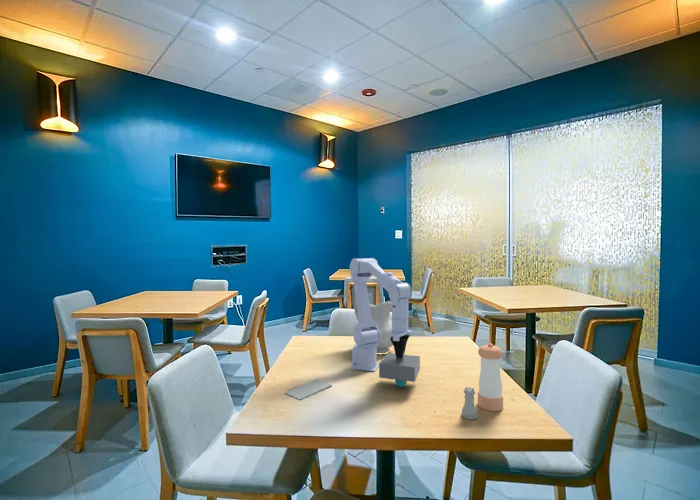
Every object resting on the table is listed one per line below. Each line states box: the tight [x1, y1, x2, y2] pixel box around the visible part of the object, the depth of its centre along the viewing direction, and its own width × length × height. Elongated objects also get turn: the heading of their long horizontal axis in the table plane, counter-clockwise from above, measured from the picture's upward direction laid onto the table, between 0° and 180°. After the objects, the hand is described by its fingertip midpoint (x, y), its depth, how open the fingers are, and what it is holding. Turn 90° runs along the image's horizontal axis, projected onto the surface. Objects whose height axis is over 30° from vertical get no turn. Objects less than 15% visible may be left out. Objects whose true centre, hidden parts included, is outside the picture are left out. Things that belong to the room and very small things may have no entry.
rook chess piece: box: [460, 386, 478, 420], centre depth 101 cm, size 4×4×8 cm
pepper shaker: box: [477, 342, 504, 412], centre depth 107 cm, size 7×7×19 cm
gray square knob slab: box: [378, 352, 421, 383], centre depth 123 cm, size 12×12×8 cm
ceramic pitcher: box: [353, 300, 393, 353], centre depth 164 cm, size 22×20×25 cm
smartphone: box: [284, 378, 332, 401], centre depth 120 cm, size 8×1×15 cm
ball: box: [394, 379, 408, 388], centre depth 122 cm, size 4×4×4 cm
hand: (400, 356), depth 123 cm, fingers closed on gray square knob slab, 2 cm apart
